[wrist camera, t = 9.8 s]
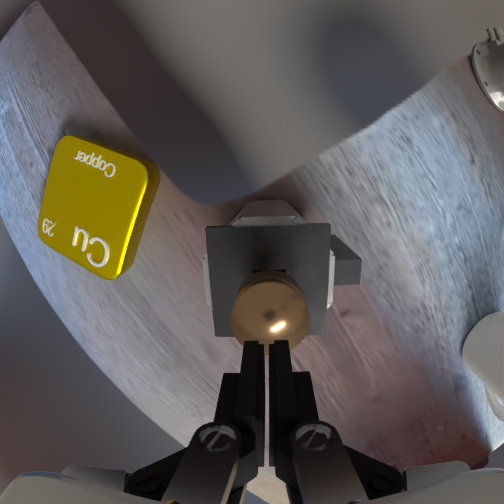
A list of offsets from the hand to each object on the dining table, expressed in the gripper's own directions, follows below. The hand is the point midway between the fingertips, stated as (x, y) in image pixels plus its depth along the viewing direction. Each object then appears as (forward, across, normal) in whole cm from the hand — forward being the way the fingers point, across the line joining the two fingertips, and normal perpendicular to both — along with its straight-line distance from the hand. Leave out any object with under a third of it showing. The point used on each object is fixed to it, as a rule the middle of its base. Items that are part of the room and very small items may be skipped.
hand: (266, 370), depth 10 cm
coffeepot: (+24, -38, +18) cm, 48 cm away
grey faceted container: (+23, -1, 0) cm, 23 cm away
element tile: (+24, +21, -6) cm, 33 cm away
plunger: (+18, 0, 0) cm, 18 cm away
